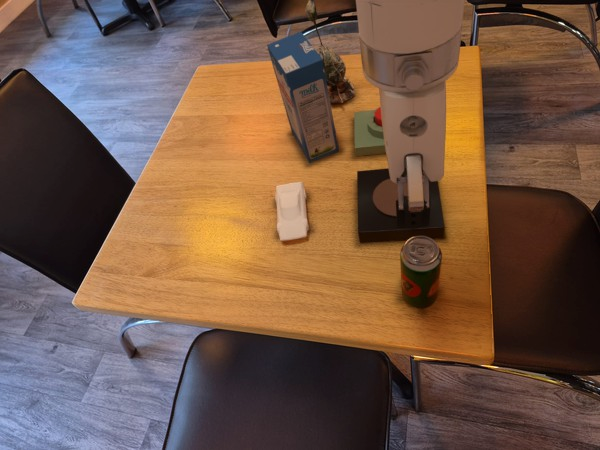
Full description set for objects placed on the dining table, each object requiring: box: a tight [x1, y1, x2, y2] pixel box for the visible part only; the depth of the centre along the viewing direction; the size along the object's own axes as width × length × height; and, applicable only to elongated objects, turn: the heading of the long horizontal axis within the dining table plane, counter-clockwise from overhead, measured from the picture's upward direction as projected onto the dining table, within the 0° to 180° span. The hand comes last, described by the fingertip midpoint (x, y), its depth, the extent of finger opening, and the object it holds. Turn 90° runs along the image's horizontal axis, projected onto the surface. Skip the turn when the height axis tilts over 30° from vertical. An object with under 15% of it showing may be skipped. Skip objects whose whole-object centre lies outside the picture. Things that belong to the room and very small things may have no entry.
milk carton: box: [266, 31, 340, 164], centre depth 79 cm, size 10×6×20 cm, turn 20°
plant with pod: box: [304, 0, 356, 105], centre depth 86 cm, size 8×11×20 cm
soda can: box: [399, 236, 443, 310], centre depth 59 cm, size 5×5×12 cm
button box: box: [353, 106, 386, 157], centre depth 82 cm, size 12×10×4 cm
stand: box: [356, 166, 446, 244], centre depth 72 cm, size 13×13×3 cm
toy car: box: [274, 181, 310, 242], centre depth 75 cm, size 6×12×3 cm, turn 4°
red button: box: [375, 106, 382, 127], centre depth 80 cm, size 4×4×2 cm
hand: (409, 188), depth 48 cm, fingers open, 9 cm apart
